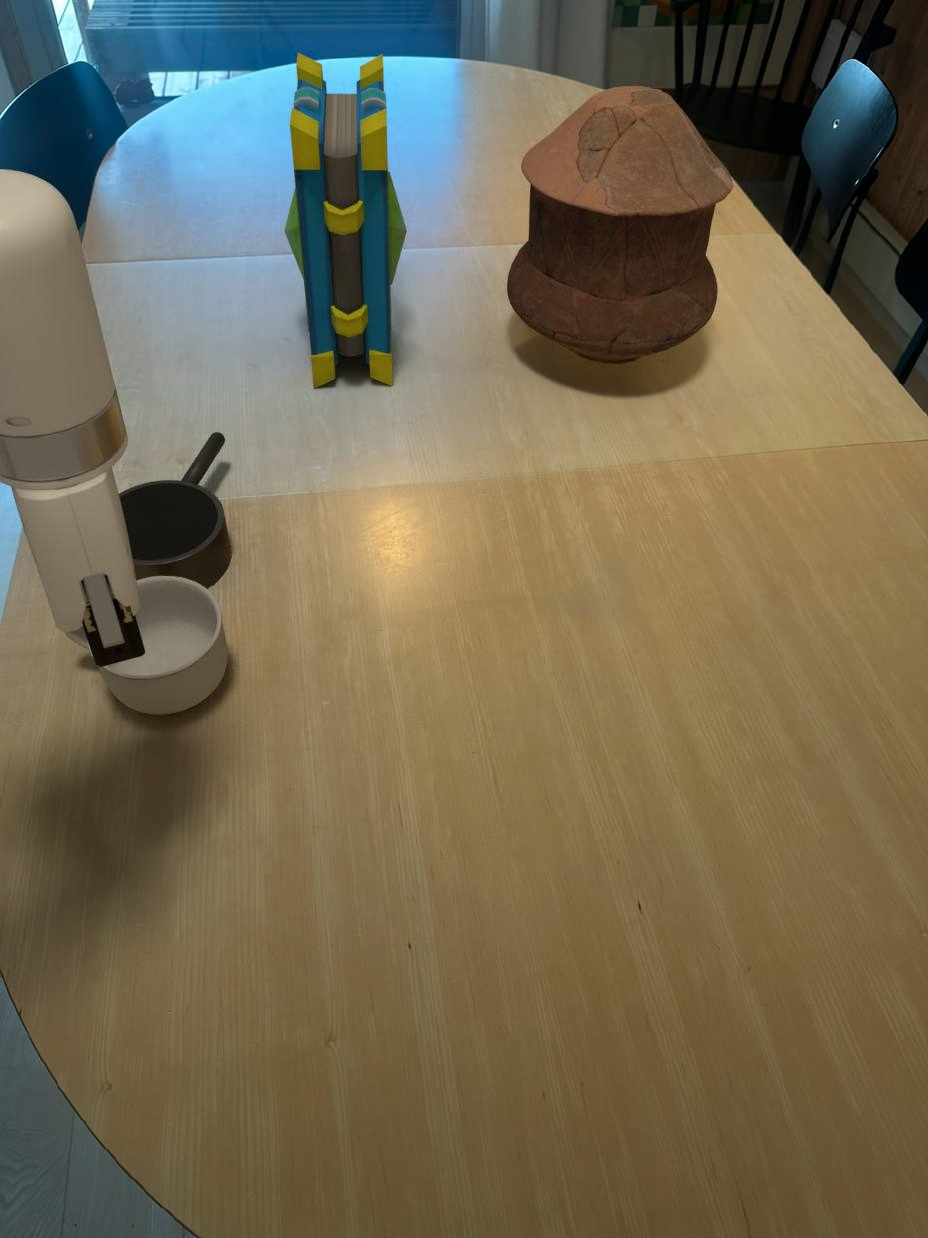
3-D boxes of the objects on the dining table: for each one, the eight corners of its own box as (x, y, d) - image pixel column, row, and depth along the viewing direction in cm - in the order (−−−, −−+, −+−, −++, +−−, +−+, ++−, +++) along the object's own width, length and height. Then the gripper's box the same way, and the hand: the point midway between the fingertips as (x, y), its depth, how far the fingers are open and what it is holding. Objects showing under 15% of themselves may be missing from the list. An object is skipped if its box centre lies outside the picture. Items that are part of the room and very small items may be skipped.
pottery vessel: (715, 411, 116) (785, 152, 93) (501, 399, 116) (521, 138, 93) (689, 300, 133) (744, 60, 111) (504, 290, 133) (521, 47, 111)
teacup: (257, 660, 87) (246, 598, 81) (188, 751, 80) (171, 691, 74) (127, 612, 90) (107, 549, 84) (50, 696, 83) (23, 634, 78)
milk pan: (83, 589, 92) (69, 551, 88) (173, 457, 106) (165, 419, 102) (203, 612, 91) (194, 574, 87) (278, 475, 104) (273, 437, 101)
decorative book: (404, 296, 131) (402, 50, 109) (411, 395, 115) (410, 131, 93) (298, 297, 130) (274, 48, 108) (290, 397, 114) (260, 130, 92)
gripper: (-40, 364, 55) (45, 593, 68) (-13, 528, 46) (79, 756, 59) (97, 341, 57) (153, 567, 70) (149, 493, 48) (202, 720, 61)
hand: (119, 652), depth 65 cm, fingers closed
